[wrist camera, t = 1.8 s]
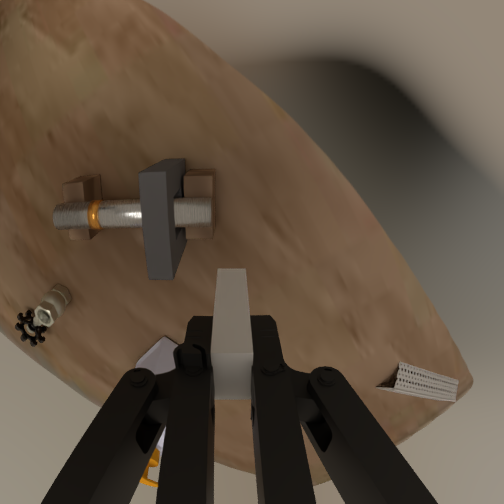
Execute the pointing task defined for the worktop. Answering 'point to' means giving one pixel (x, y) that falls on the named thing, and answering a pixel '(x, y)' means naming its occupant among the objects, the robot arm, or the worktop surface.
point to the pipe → (128, 214)
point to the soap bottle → (157, 362)
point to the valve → (44, 314)
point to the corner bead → (420, 389)
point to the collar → (162, 217)
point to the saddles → (195, 186)
